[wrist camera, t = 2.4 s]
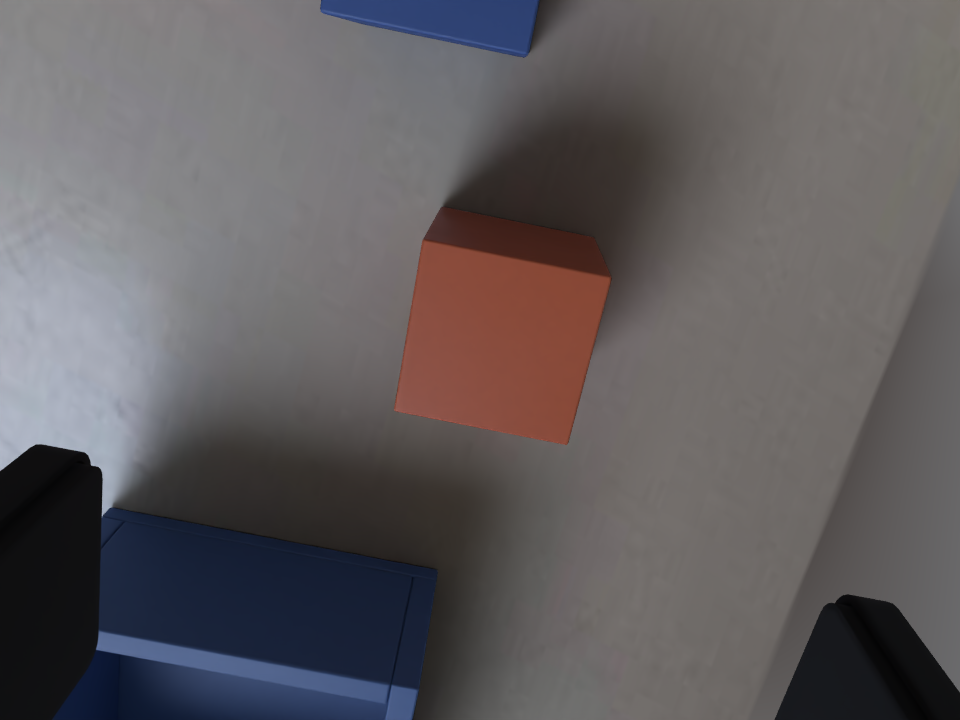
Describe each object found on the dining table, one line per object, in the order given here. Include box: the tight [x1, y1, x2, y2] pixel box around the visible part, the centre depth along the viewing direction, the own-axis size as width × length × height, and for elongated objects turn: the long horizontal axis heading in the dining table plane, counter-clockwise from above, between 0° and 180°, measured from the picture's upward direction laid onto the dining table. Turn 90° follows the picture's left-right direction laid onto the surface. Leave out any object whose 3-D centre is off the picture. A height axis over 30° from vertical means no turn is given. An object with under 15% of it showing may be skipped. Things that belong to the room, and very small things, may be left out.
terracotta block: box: [394, 207, 612, 445], centre depth 21 cm, size 5×5×5 cm
